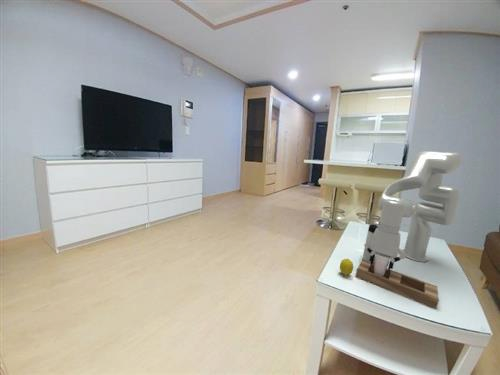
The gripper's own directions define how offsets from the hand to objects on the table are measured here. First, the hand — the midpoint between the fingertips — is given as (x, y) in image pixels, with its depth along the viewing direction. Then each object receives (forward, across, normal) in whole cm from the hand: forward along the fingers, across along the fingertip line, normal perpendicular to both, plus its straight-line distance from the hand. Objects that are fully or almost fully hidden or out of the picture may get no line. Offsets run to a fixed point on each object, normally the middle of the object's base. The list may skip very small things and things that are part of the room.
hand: (380, 266), depth 95 cm
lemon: (+7, -12, -8) cm, 16 cm away
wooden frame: (+7, +6, 0) cm, 9 cm away
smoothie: (+4, 0, 0) cm, 4 cm away
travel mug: (+7, -6, +16) cm, 18 cm away
